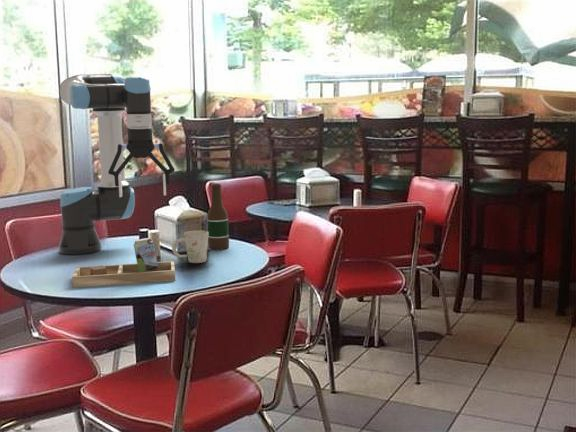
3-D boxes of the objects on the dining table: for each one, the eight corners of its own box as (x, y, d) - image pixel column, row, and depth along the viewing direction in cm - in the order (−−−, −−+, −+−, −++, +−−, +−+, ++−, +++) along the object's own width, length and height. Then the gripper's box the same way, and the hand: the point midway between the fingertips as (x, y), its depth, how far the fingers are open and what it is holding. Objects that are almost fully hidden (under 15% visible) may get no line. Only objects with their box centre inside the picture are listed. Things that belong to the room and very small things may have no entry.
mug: (211, 262, 241) (210, 233, 239) (174, 266, 238) (173, 236, 236) (207, 257, 249) (206, 229, 247) (171, 260, 245) (169, 232, 244)
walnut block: (90, 279, 218) (89, 267, 217) (103, 277, 220) (102, 265, 219) (94, 282, 215) (93, 269, 214) (107, 280, 217) (106, 267, 216)
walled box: (78, 279, 223) (77, 267, 222) (174, 273, 228) (173, 261, 227) (73, 290, 210) (72, 277, 209) (175, 283, 215) (174, 270, 214)
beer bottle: (208, 246, 268) (205, 183, 264) (228, 245, 269) (226, 182, 265) (208, 250, 260) (205, 185, 256) (229, 249, 261) (227, 184, 257)
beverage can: (154, 279, 216) (152, 240, 214) (132, 278, 217) (129, 240, 215) (162, 274, 222) (160, 236, 220) (140, 273, 224) (138, 236, 222)
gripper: (96, 129, 213) (101, 199, 217) (180, 127, 217) (183, 196, 221) (99, 127, 220) (103, 195, 225) (180, 126, 224) (182, 192, 229)
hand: (143, 195), depth 223 cm, fingers open, 13 cm apart
